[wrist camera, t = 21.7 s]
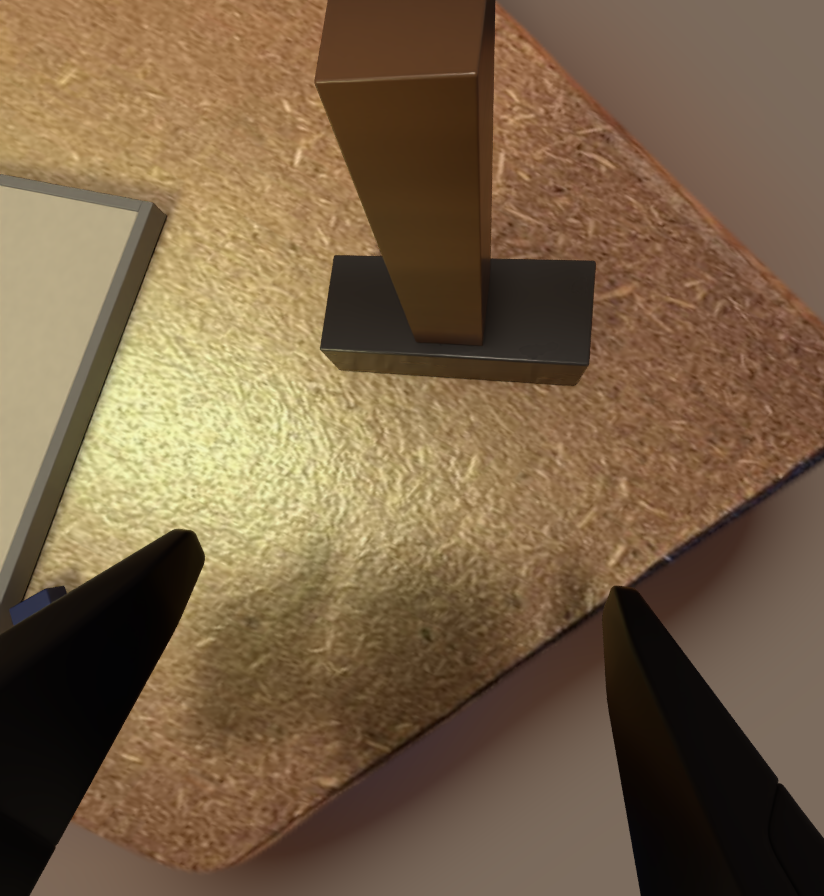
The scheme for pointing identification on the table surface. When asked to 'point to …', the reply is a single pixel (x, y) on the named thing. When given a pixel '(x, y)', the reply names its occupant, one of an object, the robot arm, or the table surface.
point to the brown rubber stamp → (435, 207)
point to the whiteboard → (56, 344)
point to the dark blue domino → (35, 603)
